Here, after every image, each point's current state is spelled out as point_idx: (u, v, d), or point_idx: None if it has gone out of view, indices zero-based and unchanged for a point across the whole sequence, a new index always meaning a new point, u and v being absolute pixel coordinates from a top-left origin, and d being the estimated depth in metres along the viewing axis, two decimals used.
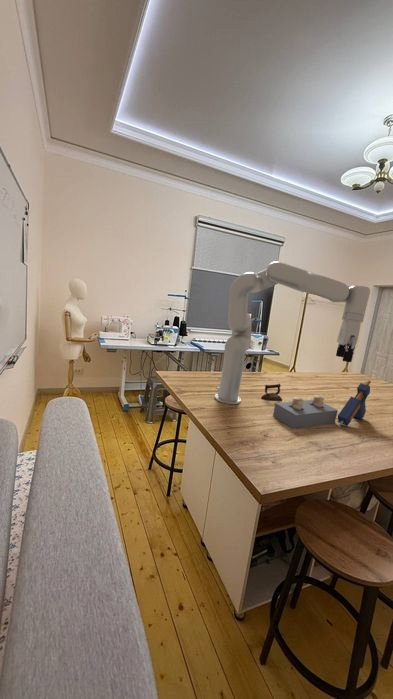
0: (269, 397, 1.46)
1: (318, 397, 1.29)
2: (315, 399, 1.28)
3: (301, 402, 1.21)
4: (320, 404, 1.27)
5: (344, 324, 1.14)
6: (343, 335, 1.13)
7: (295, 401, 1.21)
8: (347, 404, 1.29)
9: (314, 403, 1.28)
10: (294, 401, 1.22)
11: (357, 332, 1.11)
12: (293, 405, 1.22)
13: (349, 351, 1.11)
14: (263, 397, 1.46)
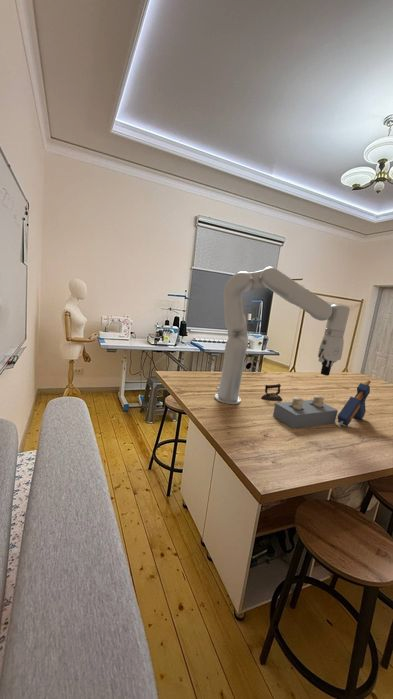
0: (269, 397, 1.46)
1: (318, 397, 1.29)
2: (315, 399, 1.28)
3: (301, 402, 1.21)
4: (320, 404, 1.27)
5: (339, 342, 1.22)
6: (340, 352, 1.23)
7: (295, 401, 1.21)
8: (347, 404, 1.28)
9: (314, 403, 1.28)
10: (294, 401, 1.22)
11: None
12: (293, 405, 1.22)
13: None
14: (263, 397, 1.46)
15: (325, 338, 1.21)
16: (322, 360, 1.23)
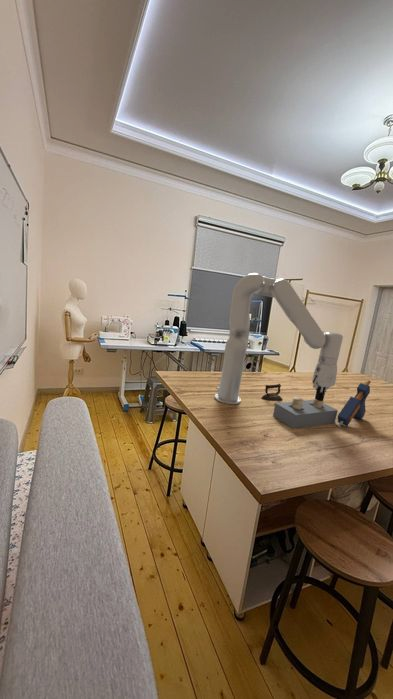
0: (269, 397, 1.46)
1: None
2: (314, 401, 1.28)
3: (301, 402, 1.21)
4: (319, 406, 1.27)
5: (333, 369, 1.24)
6: (333, 378, 1.26)
7: (295, 401, 1.21)
8: (347, 404, 1.28)
9: (313, 405, 1.28)
10: (294, 401, 1.22)
11: None
12: (293, 405, 1.22)
13: None
14: (263, 397, 1.46)
15: (319, 365, 1.24)
16: (316, 386, 1.25)
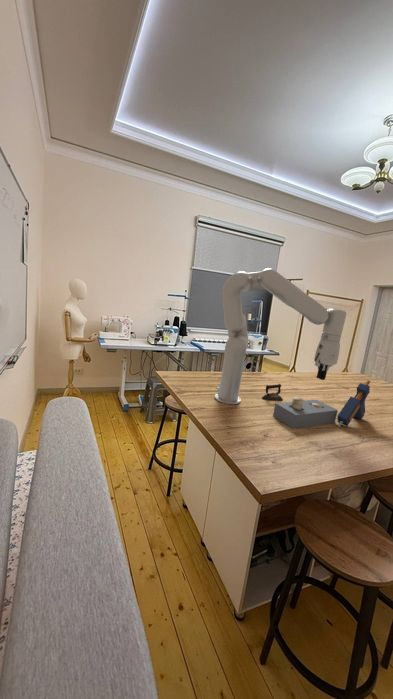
0: (270, 397, 1.46)
1: (316, 405, 1.29)
2: None
3: (301, 402, 1.21)
4: None
5: (335, 346, 1.21)
6: (336, 356, 1.23)
7: (295, 401, 1.21)
8: (347, 404, 1.28)
9: None
10: (294, 401, 1.22)
11: None
12: (293, 405, 1.22)
13: None
14: (264, 397, 1.46)
15: (321, 342, 1.21)
16: (318, 364, 1.22)
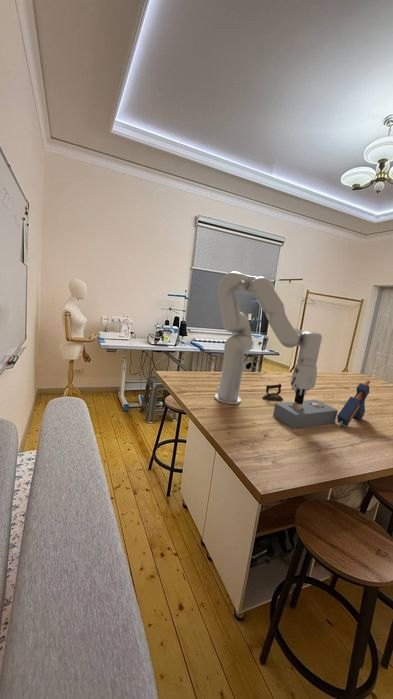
0: (270, 397, 1.46)
1: (316, 405, 1.29)
2: None
3: (300, 406, 1.21)
4: None
5: (312, 370, 1.18)
6: (313, 380, 1.20)
7: (294, 405, 1.22)
8: (346, 404, 1.28)
9: None
10: (293, 405, 1.22)
11: None
12: None
13: None
14: (264, 397, 1.46)
15: (297, 366, 1.18)
16: (295, 389, 1.19)
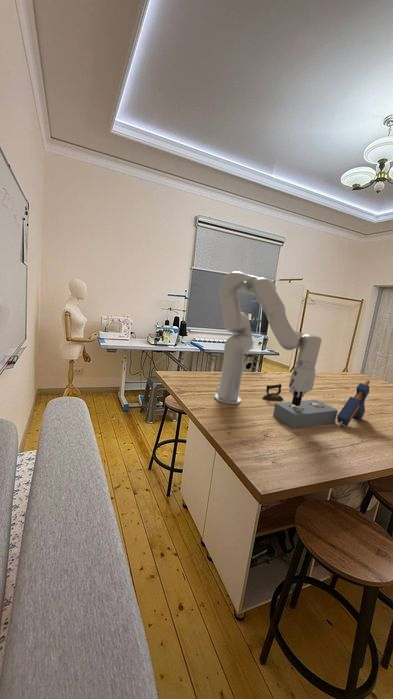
0: (270, 397, 1.46)
1: (316, 405, 1.29)
2: None
3: None
4: None
5: (310, 373, 1.18)
6: (311, 383, 1.20)
7: None
8: (346, 404, 1.28)
9: None
10: None
11: None
12: None
13: None
14: (265, 397, 1.46)
15: (296, 369, 1.18)
16: (292, 391, 1.19)
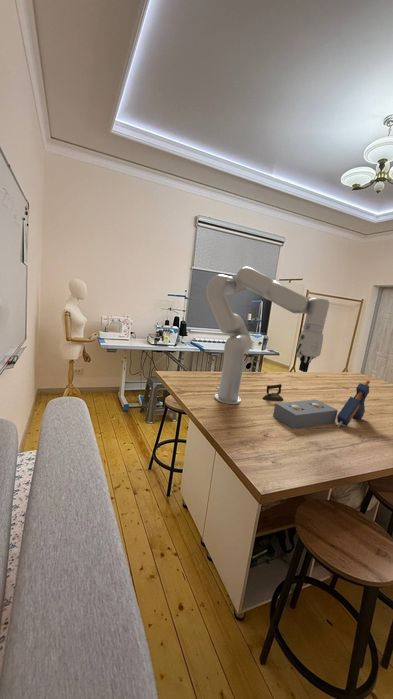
0: (271, 397, 1.46)
1: (316, 405, 1.29)
2: None
3: None
4: None
5: (318, 337, 1.16)
6: (318, 347, 1.18)
7: None
8: (346, 404, 1.28)
9: None
10: None
11: None
12: None
13: None
14: (265, 398, 1.46)
15: (303, 333, 1.16)
16: (300, 356, 1.18)
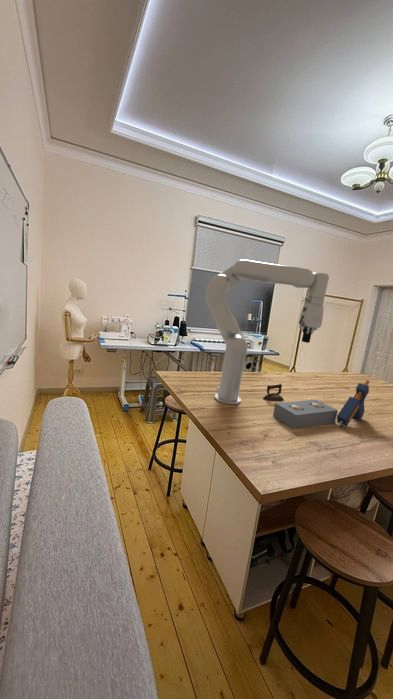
0: (271, 397, 1.46)
1: (316, 405, 1.29)
2: None
3: None
4: None
5: (319, 309, 1.25)
6: (319, 319, 1.27)
7: None
8: (346, 404, 1.28)
9: None
10: None
11: None
12: None
13: None
14: (265, 398, 1.46)
15: (305, 305, 1.25)
16: (302, 327, 1.27)
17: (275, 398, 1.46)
